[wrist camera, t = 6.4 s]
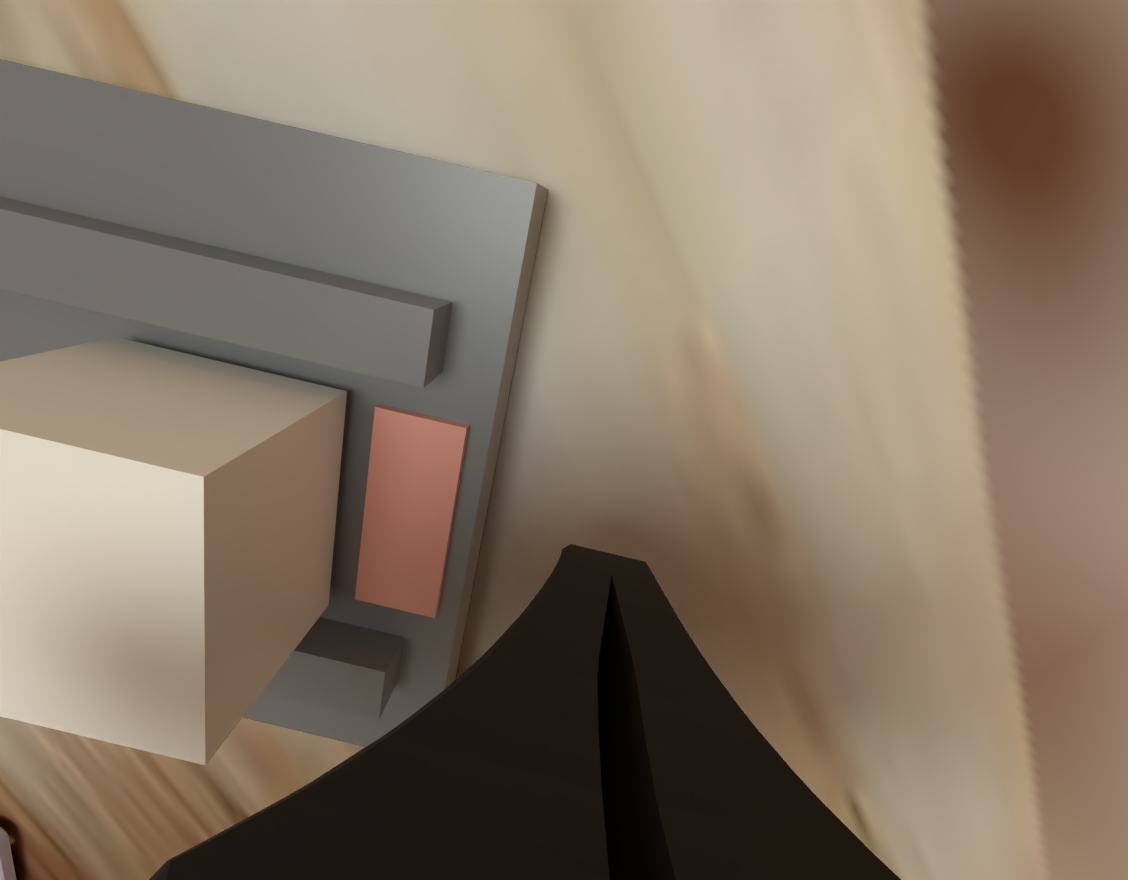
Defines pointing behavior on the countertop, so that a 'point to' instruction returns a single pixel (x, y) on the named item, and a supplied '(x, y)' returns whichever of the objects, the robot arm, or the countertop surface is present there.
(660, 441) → the countertop surface
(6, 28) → the countertop surface
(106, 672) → the slider knob
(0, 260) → the switch track
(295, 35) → the countertop surface
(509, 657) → the robot arm
